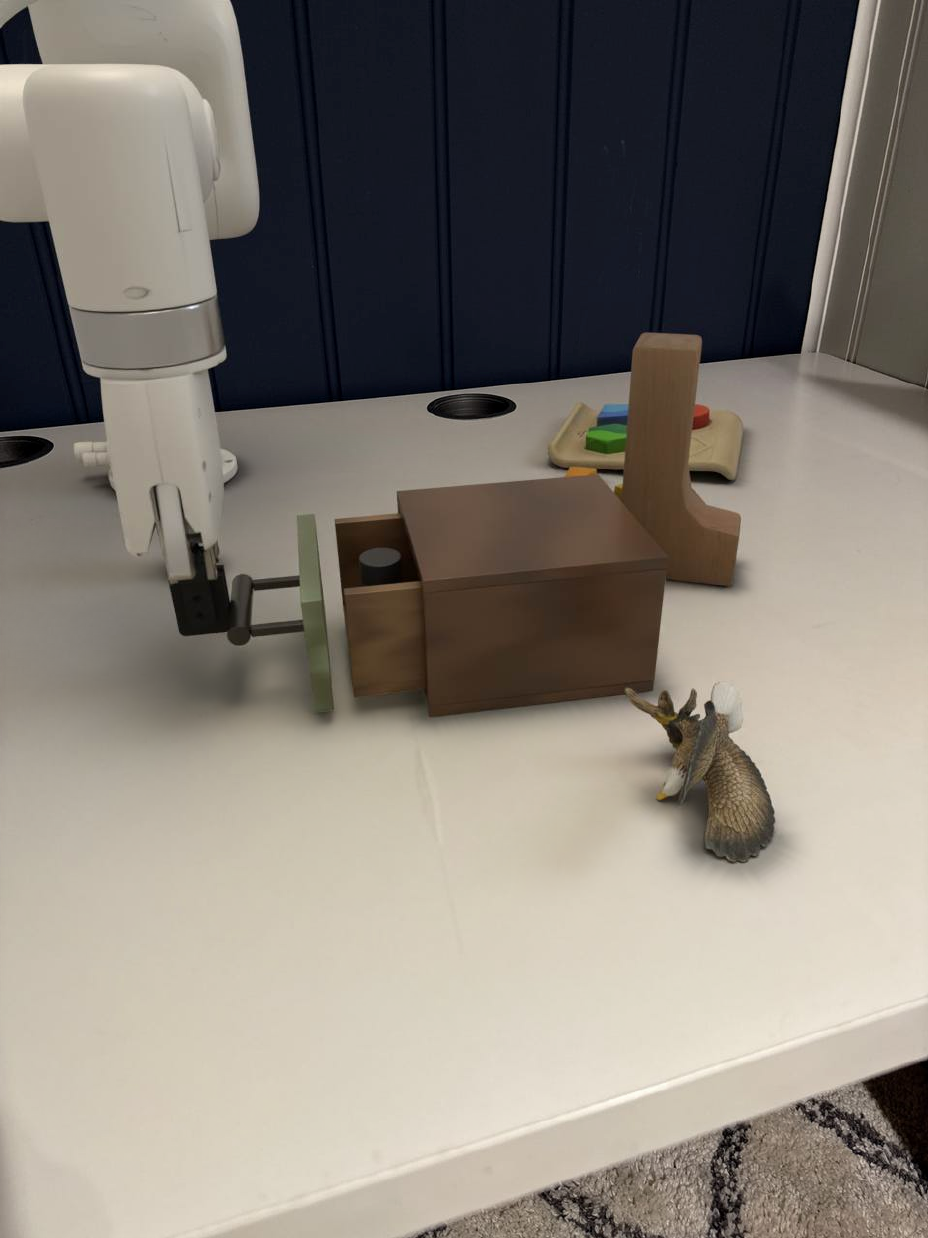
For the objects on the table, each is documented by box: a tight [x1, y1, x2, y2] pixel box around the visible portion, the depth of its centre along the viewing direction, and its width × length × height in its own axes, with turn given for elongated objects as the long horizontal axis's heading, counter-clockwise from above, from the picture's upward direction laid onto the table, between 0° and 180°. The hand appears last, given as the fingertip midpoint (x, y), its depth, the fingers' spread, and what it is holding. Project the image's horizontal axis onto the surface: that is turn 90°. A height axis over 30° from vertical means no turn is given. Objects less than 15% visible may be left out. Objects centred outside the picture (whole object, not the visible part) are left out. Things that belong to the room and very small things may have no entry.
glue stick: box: [359, 548, 402, 587], centre depth 59 cm, size 3×3×6 cm
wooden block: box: [621, 332, 742, 587], centre depth 68 cm, size 9×4×18 cm, turn 73°
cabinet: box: [396, 473, 668, 718], centre depth 60 cm, size 15×14×10 cm
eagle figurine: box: [624, 681, 776, 863], centre depth 47 cm, size 8×7×9 cm
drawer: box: [226, 512, 427, 714], centre depth 59 cm, size 18×12×8 cm
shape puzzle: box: [547, 401, 744, 500], centre depth 93 cm, size 25×19×3 cm
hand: (206, 627), depth 57 cm, fingers closed
